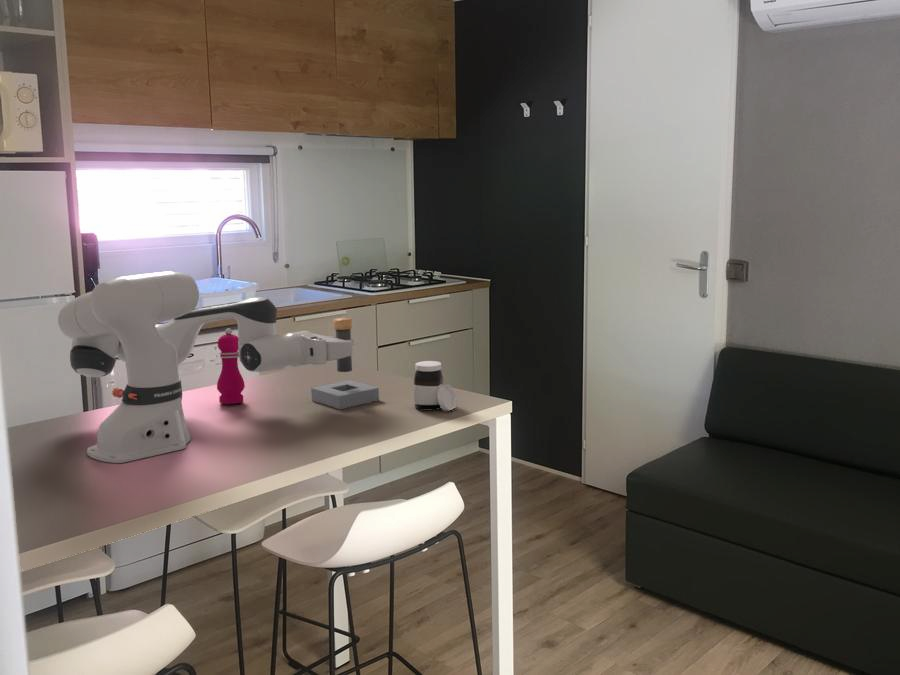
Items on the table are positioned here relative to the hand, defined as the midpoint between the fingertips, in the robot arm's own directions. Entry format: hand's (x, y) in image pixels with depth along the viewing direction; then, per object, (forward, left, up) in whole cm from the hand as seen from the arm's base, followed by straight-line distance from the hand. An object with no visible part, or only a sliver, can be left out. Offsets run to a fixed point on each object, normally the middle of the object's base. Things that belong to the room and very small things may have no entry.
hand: (346, 340), depth 228 cm
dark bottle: (-1, 0, -8) cm, 8 cm away
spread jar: (+7, -25, -17) cm, 31 cm away
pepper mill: (-21, +23, -16) cm, 35 cm away
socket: (-1, 0, -16) cm, 16 cm away
